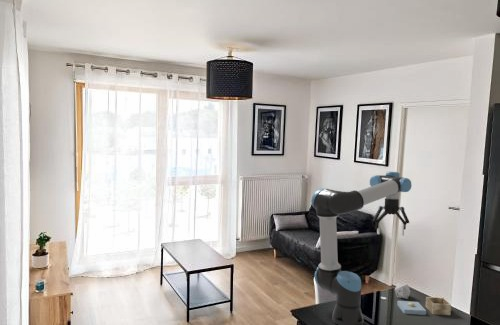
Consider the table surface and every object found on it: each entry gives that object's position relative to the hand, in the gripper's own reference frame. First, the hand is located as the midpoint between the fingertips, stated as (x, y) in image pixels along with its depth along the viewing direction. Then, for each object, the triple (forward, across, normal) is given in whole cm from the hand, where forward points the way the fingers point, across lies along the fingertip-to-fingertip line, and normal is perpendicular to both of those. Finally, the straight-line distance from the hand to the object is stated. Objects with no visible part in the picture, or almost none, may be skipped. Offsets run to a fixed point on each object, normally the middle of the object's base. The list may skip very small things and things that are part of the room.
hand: (390, 234), depth 211 cm
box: (+37, +21, -18) cm, 46 cm away
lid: (+36, +7, -18) cm, 41 cm away
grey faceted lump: (+37, +8, -1) cm, 38 cm away
